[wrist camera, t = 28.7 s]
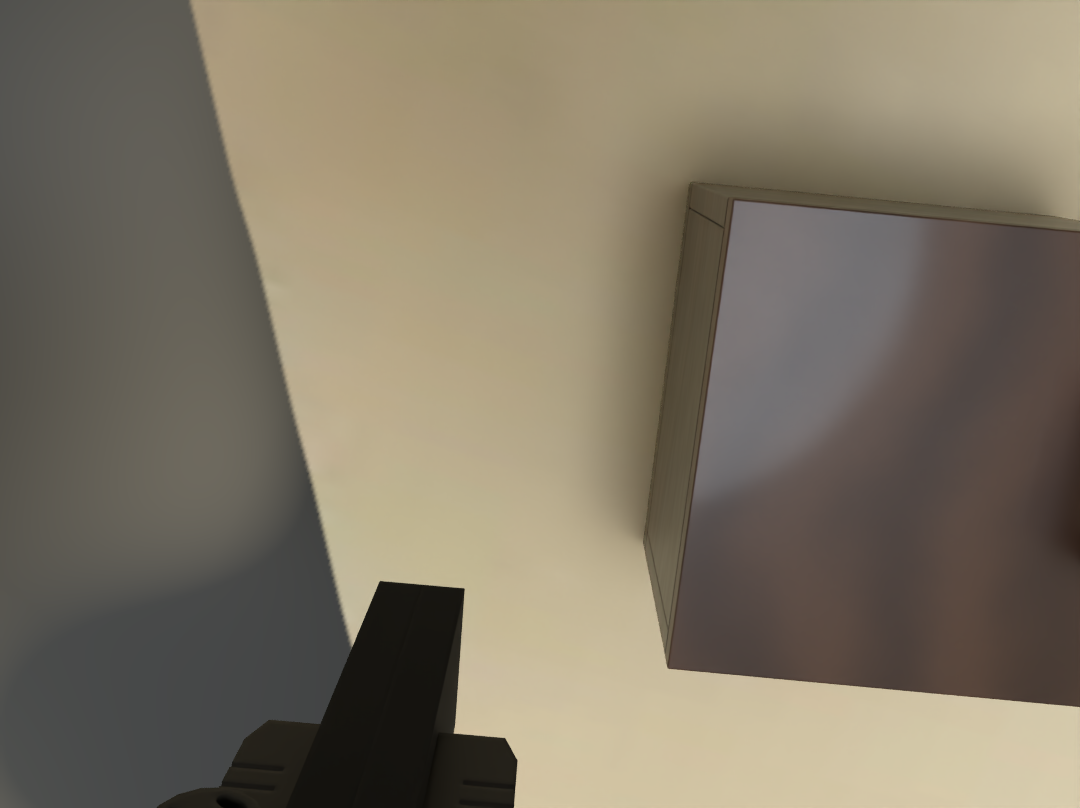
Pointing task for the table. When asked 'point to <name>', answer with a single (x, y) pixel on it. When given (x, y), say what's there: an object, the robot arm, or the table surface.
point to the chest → (692, 348)
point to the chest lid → (887, 457)
